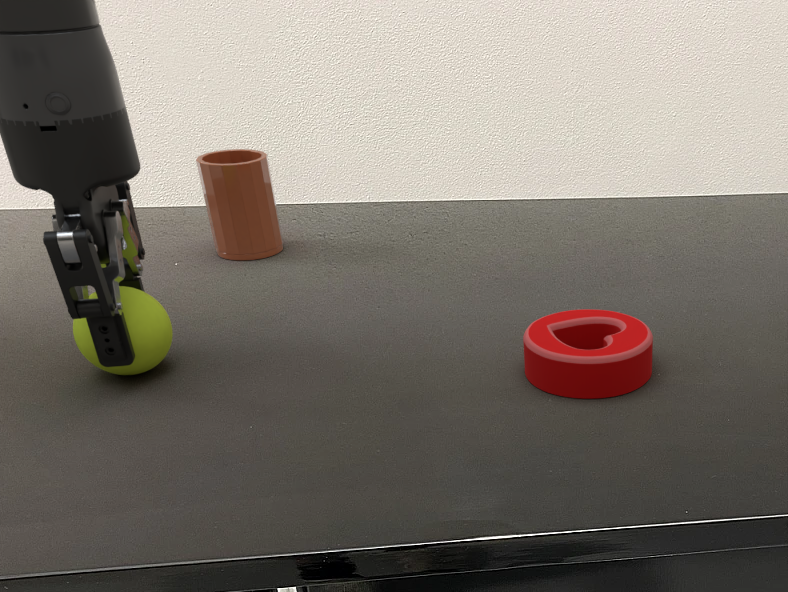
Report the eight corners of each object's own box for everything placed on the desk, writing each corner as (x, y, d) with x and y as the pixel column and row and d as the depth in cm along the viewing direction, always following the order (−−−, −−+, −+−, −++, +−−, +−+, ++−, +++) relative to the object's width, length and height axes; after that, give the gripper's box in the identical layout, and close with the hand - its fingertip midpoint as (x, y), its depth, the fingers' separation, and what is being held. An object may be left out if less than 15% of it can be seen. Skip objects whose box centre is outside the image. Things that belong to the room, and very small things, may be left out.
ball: (78, 393, 68) (50, 308, 65) (97, 357, 74) (73, 276, 70) (174, 385, 70) (153, 301, 66) (187, 349, 75) (167, 270, 72)
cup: (213, 262, 92) (192, 166, 87) (220, 242, 97) (200, 150, 92) (281, 258, 93) (264, 163, 88) (285, 238, 98) (268, 147, 94)
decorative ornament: (527, 345, 77) (525, 308, 75) (647, 344, 77) (648, 306, 76) (522, 399, 69) (520, 359, 67) (656, 397, 69) (657, 357, 68)
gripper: (25, 85, 67) (93, 312, 76) (-44, 130, 55) (46, 392, 64) (142, 83, 68) (195, 305, 77) (99, 125, 57) (168, 382, 65)
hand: (127, 344), depth 70 cm, fingers closed on ball, 6 cm apart
